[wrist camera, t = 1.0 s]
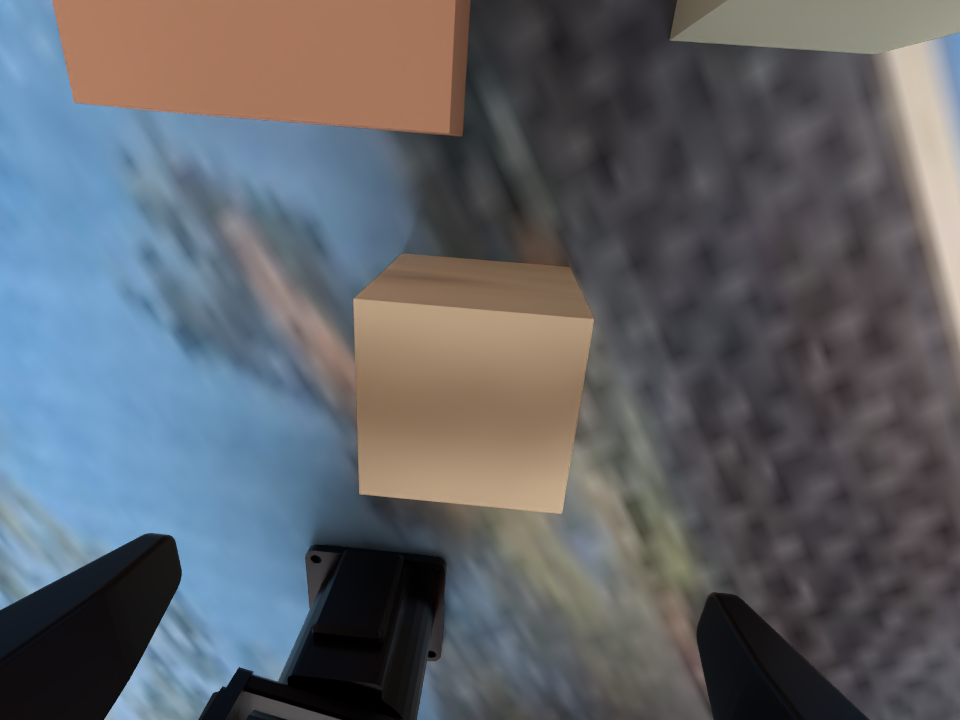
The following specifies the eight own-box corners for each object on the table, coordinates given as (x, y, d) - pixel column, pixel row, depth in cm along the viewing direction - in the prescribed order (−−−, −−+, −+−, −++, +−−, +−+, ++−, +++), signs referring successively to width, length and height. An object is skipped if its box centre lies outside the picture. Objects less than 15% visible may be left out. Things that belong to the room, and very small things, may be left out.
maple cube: (548, 414, 20) (562, 513, 15) (401, 400, 20) (359, 494, 15) (569, 266, 18) (594, 319, 12) (402, 252, 18) (353, 298, 13)
